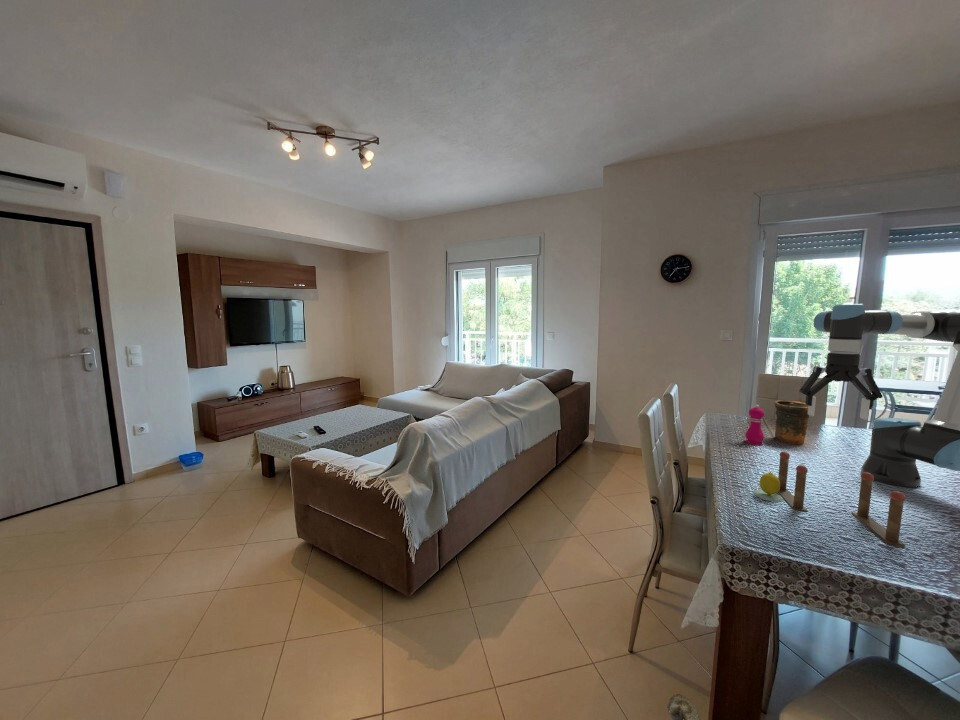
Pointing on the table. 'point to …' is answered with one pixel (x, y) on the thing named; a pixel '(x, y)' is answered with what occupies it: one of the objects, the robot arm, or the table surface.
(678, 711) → the cake
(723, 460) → the table surface
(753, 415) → the pepper mill
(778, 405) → the vessel
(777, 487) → the lemon
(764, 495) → the pad
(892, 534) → the gate course
